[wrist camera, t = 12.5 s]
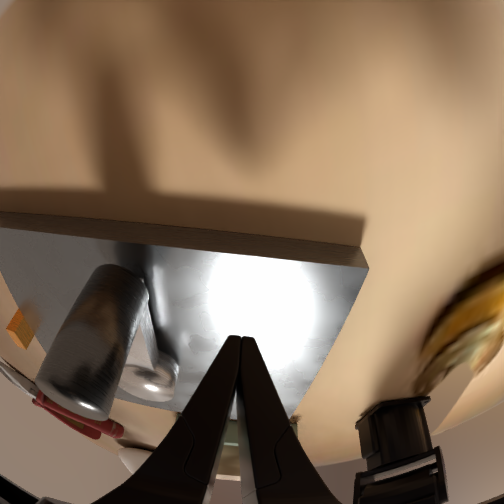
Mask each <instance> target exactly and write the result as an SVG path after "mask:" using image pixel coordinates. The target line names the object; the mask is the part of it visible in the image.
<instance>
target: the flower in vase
mask: <svg viewBox="0 0 504 504" xmlns="http://www.w3.org/2000/svg"><path fill="white" fill-rule="evenodd" d="M152 453H153V452H150V451H147V450H142V449H137V448H121V449H119V450H118V455H119V457H120V459H121V460H122V462H123V463H124V464H125V466H126V467H127V468H128V469H129V471H130V472H131V473H132V474H134V473H135V472H136V471H137V469H138V468H139V467H140V466H141V465H142V464H143V463H144V462H145V461H146V459H147V458H148V457H149V456H150V455H151V454H152Z"/></svg>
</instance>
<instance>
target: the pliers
mask: <svg viewBox="0 0 504 504" xmlns="http://www.w3.org/2000/svg"><path fill="white" fill-rule="evenodd" d="M0 372H1V373H2V374H3V375H4V376H5V377H6V378H7V379H8V380H10V381H11V382H12V383H13V384H14V385H15V386H17V387H18V388H19V389H20V390H22V391H23V392H25V393H26V394H27V395H29V396H31V397H32V398H33V399H32V402H33V403H34V404H35V405H36V406H39V407H42V408H44V409H45V410H46V411H48V412H49V413H50V414H52V415H53V416H55V417H56V418H57V419H59V420H60V421H62V422H63V423H65V424H66V425H68V426H69V427H71V428H72V429H74V430H76V431H78V432H80V433H82V434H84V435H86V436H88V437H90V438H92V439H99V438H100V436H101V432H102V433H104V434H106V435H109V436H111V437H113V438H121V437H122V436H123V433H124V428H123V426H121V425H119V424H117V423H115V422H113V421H111V420H109V419H108V420H106V421H98V420H93V419H89V418H86V417H83V416H81V415H78V414H76V413H74V412H72V411H70V410H68V409H66V408H64V407H62V406H61V405H59V404H57V403H56V402H54V401H53V400H51V399H50V398H49V397H48V396H46V395H45V394H44V393H43V392H42V391H41V390H40V389H39V388H38V387H37V386H36V385H34V384H33V383H32V382H30V381H29V380H28V379H26V378H25V377H23V376H22V375H20V374H19V373H17V372H16V371H14V370H13V369H11V368H10V367H8V366H7V365H5V364H4V363H2V362H0Z"/></svg>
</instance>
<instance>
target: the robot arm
mask: <svg viewBox="0 0 504 504" xmlns="http://www.w3.org/2000/svg"><path fill="white" fill-rule="evenodd" d="M235 394H236V410H237V429H238V447H239V463H240V479H241V493H242V504H342V503H341V502H339V501H338V500H337V499H336V497H335V496H334V495H333V494H332V493H331V492H330V490H329V489H328V487H327V486H326V484H325V483H324V482H323V480H322V478H321V477H320V476H319V474H318V472H317V471H316V469H315V468H314V466H313V465H312V463H311V462H310V460H309V458H308V457H307V455H306V453H305V451H304V450H303V448H302V446H301V444H300V442H299V440H298V438H297V436H296V434H295V431H294V429H293V427H292V425H290V424H291V423H290V420H289V418H288V416H287V413H286V411H285V409H284V406H283V404H282V402H281V399H280V397H279V395H278V392H277V390H276V388H275V385H274V383H273V381H272V378H271V376H270V373H269V371H268V369H267V366H266V364H265V361H264V359H263V357H262V354H261V352H260V349H259V347H258V344H257V342H256V340H255V338H254V337H251V336H242V338H241V336H240V335H232V334H230V335H229V336H228V337H227V339H226V340H225V342H224V344H223V345H222V347H221V349H220V350H219V352H218V354H217V355H216V357H215V359H214V360H213V362H212V364H211V365H210V367H209V369H208V370H207V372H206V374H205V375H204V377H203V379H202V380H201V382H200V383H199V385H198V387H197V388H196V390H195V392H194V393H193V395H192V397H191V398H190V400H189V401H188V403H187V405H186V406H185V408H184V409H183V411H182V413H181V415H180V416H179V417H178V419H177V420H176V422H175V424H174V425H173V427H172V428H171V430H170V431H169V433H168V434H167V435H166V437H165V438H164V439H163V441H162V442H161V443H160V444H159V446H158V447H157V448H156V449H155V450H154V451H153V453H152V454H151V455H150V456H149V457H148V458H147V459H146V461H145V462H144V463H143V464H142V465H141V466H140V467H139V468H138V469H137V471H136V472H135V473H134V474H133V475H132V476H131V477H130V478H129V479H128V480H126V481H125V482H124V483H123V484H121V485H120V486H118V487H117V488H115V489H114V490H112V491H111V492H109V493H108V494H106V495H104V496H103V497H101V498H99V499H98V500H96V501H95V502H93V503H91V504H209V503H210V499H211V495H212V491H213V487H214V483H215V479H216V475H217V471H218V467H219V463H220V458H221V454H222V450H223V446H224V442H225V438H226V433H227V429H228V425H229V421H230V416H231V412H232V408H233V404H234V399H235ZM430 400H431V398H430V396H427V397H420V398H414V399H407V400H399V401H391V402H383V403H380V404H378V405H377V406H376V407H375V408H374V409H373V410H372V411H371V412H370V413H368V414H367V415H366V416H365V417H364V418H363V419H362V420H361V421H360V422H358V423H357V424H356V425H355V429H358V430H359V438H360V446H361V454H362V458H363V459H366V461H367V470H368V471H365V472H358V473H356V479H355V482H354V497H353V504H443V503H445V502H448V501H449V497H448V486H447V479H446V470H445V464H444V459H443V454H442V450H441V448H440V446H437V447H435V448H434V449H433V447H432V443H431V438H430V433H429V429H428V425H427V421H426V417H425V413H424V409H423V407H424V406H425V405H426V404H427V403H428V402H429V401H430ZM435 458H436V462H435V463H432V464H429V465H426V466H423V467H421V468H418V469H415V470H412V471H409V472H406V473H403V474H400V475H397V476H393V477H390V478H386V479H383V480H379V481H375V480H374V479H375V478H379V477H382V476H386V475H389V474H392V473H396V472H399V471H402V470H405V469H408V468H411V467H414V466H417V465H420V464H422V463H425V462H428V461H430V460H433V459H435ZM436 471H438V472H436ZM433 472H436V473H433ZM0 504H71V503H67V502H63V501H60V500H56V499H53V498H49V497H42V498H41V499H40V498H38V497H36V496H34V495H33V494H31V493H29V492H28V491H26V490H24V489H23V488H21V487H20V486H18V485H16V484H15V483H13V482H12V481H10V480H9V479H7V478H6V477H4V476H3V475H1V474H0ZM478 504H504V494H501V495H499V496H497V497H494V498H492V499H489V500H486V501H484V502H481V503H478Z"/></svg>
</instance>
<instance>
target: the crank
mask: <svg viewBox="0 0 504 504" xmlns="http://www.w3.org/2000/svg"><path fill="white" fill-rule="evenodd" d="M148 300H149V294H148V290H147V288H146V286H145V284H144V281H143V279H141V278H139V277H138V276H137V275H136V274H134V273H133V272H131V271H130V270H128V269H126V268H124V267H122V266H119V265H115V264H104V265H100V266H98V267H97V268H96V269H95V270H94V271H93V273H92V275H91V276H90V278H89V279H88V281H87V283H86V284H85V286H84V287H83V289H82V291H81V292H80V294H79V296H78V297H77V299H76V301H75V303H74V304H73V306H72V308H71V310H70V311H69V313H68V315H67V317H66V318H65V320H64V322H63V324H62V326H61V328H60V329H59V331H58V333H57V335H56V337H55V339H54V341H53V343H52V345H51V347H50V349H49V351H48V353H47V355H46V357H45V359H44V361H43V363H42V365H41V367H40V370H39V372H38V374H37V376H36V378H35V383H36V385H37V387H38V388H39V389H40V390H41V391H42V392H43V393H44V394H45V395H46V396H48V397H49V398H50V399H51V400H53V401H54V402H56V403H57V404H59V405H61V406H62V407H64V408H66V409H68V410H70V411H72V412H74V413H76V414H78V415H81V416H83V417H86V418H89V419H93V420H98V421H106V420H108V417H109V414H110V410H111V407H112V404H113V400H114V397H115V394H116V391H117V388H118V386H119V387H120V388H122V389H123V390H125V391H126V392H128V393H130V394H132V395H134V396H136V397H139V398H142V399H145V400H150V401H156V402H164V401H169V400H171V399H172V398H173V396H174V391H175V387H176V382H177V377H178V373H179V366H178V364H177V363H176V361H175V360H174V359H173V358H172V357H170V356H169V355H167V354H166V353H164V352H162V351H160V350H158V347H157V343H156V339H155V334H154V330H153V326H152V321H151V316H150V312H149V307H148Z"/></svg>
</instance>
